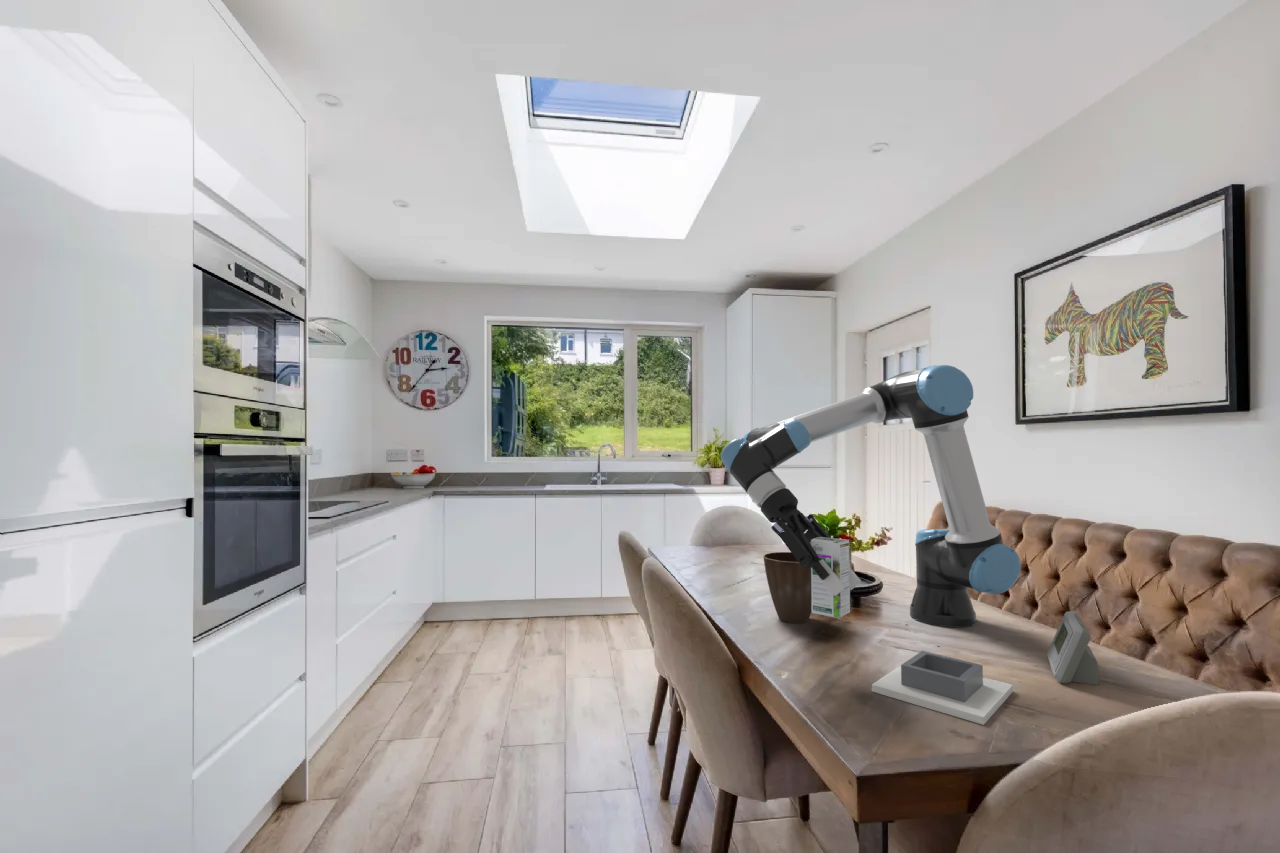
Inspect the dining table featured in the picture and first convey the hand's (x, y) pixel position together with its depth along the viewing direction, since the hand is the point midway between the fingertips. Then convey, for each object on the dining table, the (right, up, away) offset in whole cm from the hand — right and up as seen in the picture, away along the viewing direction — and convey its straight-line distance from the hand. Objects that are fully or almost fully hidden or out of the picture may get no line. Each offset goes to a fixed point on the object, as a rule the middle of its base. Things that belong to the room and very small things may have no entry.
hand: (848, 588), depth 111 cm
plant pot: (0, -19, +38) cm, 42 cm away
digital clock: (+44, -17, +2) cm, 47 cm away
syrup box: (-2, -6, +2) cm, 7 cm away
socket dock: (+15, -17, -7) cm, 23 cm away
